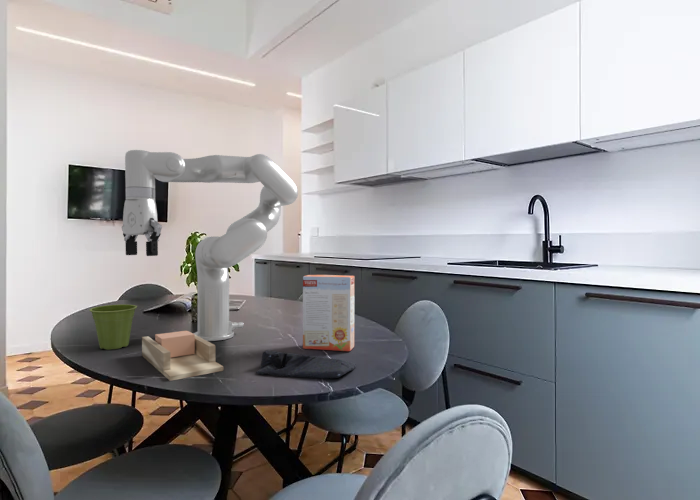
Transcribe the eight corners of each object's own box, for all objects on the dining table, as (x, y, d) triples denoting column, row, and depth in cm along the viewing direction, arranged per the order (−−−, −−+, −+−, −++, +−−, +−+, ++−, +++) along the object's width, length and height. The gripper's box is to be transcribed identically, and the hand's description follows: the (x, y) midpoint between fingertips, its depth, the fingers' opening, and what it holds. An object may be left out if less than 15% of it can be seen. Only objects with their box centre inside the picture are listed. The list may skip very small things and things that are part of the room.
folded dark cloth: (340, 387, 91) (340, 365, 91) (250, 376, 97) (250, 355, 97) (360, 367, 105) (360, 348, 105) (281, 358, 112) (281, 340, 112)
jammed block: (187, 349, 114) (187, 330, 114) (194, 353, 109) (194, 334, 109) (155, 353, 109) (155, 334, 109) (161, 359, 104) (161, 338, 104)
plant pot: (83, 346, 120) (83, 307, 120) (128, 339, 129) (128, 303, 129) (97, 354, 112) (97, 312, 112) (143, 346, 121) (143, 307, 121)
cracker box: (354, 347, 123) (355, 275, 122) (350, 352, 117) (350, 276, 116) (308, 344, 126) (309, 273, 125) (301, 349, 120) (302, 275, 119)
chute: (188, 348, 119) (188, 331, 119) (223, 370, 100) (223, 349, 100) (142, 355, 112) (142, 337, 112) (170, 380, 92) (170, 358, 92)
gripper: (110, 195, 121) (111, 255, 122) (146, 192, 112) (147, 256, 113) (135, 197, 128) (136, 254, 128) (171, 194, 119) (172, 255, 119)
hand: (141, 255), depth 121 cm, fingers open, 9 cm apart
